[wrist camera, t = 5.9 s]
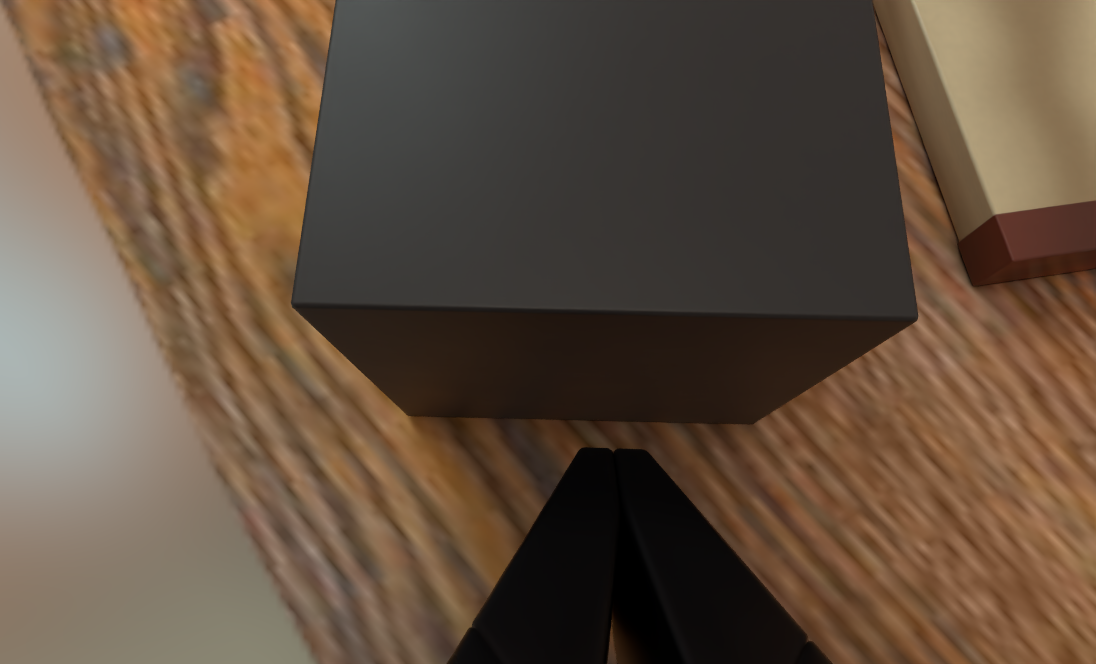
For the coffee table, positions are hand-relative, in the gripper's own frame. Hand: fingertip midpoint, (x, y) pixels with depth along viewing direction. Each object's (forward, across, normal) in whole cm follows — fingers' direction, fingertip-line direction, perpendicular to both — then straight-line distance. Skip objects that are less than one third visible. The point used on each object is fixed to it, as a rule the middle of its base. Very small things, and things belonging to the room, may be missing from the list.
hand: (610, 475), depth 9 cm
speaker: (+10, 0, -1) cm, 10 cm away
